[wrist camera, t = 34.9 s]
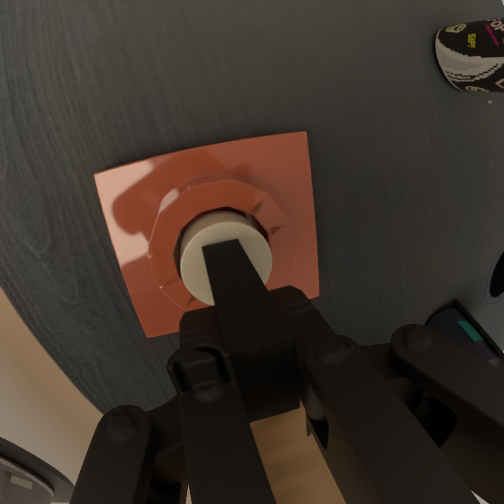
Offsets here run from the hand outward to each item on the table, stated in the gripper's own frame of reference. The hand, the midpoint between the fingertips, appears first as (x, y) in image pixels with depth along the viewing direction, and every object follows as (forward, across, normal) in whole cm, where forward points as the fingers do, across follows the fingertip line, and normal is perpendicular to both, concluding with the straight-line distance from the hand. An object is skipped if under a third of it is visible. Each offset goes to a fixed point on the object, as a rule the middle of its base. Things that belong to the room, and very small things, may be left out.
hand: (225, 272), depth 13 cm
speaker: (+6, +21, -16) cm, 27 cm away
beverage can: (+6, +21, +11) cm, 25 cm away
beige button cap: (+2, 0, 0) cm, 2 cm away
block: (+6, 0, -16) cm, 17 cm away
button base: (+6, 0, 0) cm, 6 cm away
